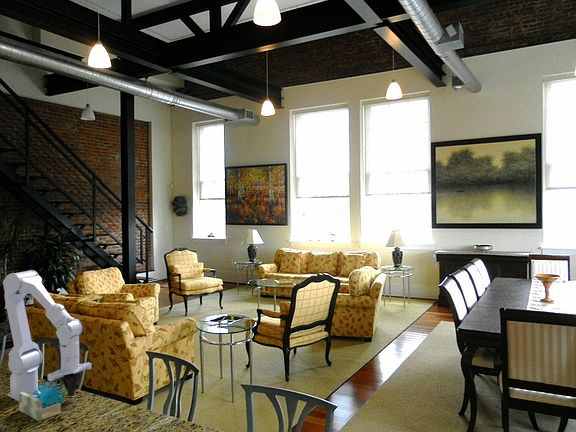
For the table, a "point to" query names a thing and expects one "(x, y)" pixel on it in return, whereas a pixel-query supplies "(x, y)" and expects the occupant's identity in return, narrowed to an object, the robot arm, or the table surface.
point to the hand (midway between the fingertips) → (70, 395)
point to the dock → (36, 407)
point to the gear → (50, 395)
